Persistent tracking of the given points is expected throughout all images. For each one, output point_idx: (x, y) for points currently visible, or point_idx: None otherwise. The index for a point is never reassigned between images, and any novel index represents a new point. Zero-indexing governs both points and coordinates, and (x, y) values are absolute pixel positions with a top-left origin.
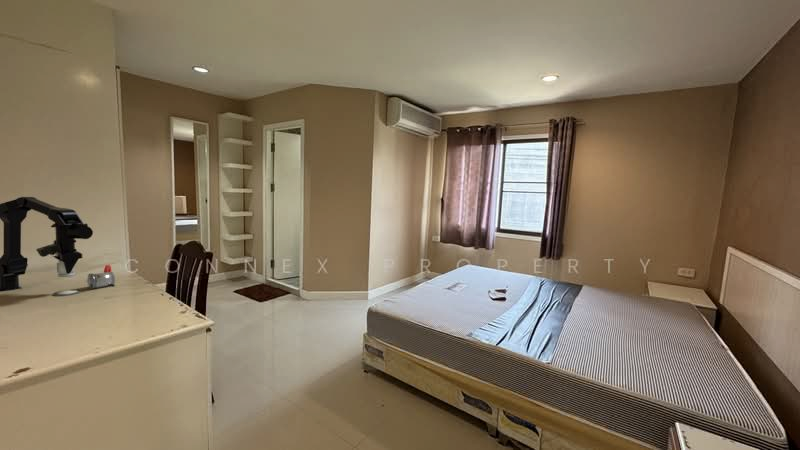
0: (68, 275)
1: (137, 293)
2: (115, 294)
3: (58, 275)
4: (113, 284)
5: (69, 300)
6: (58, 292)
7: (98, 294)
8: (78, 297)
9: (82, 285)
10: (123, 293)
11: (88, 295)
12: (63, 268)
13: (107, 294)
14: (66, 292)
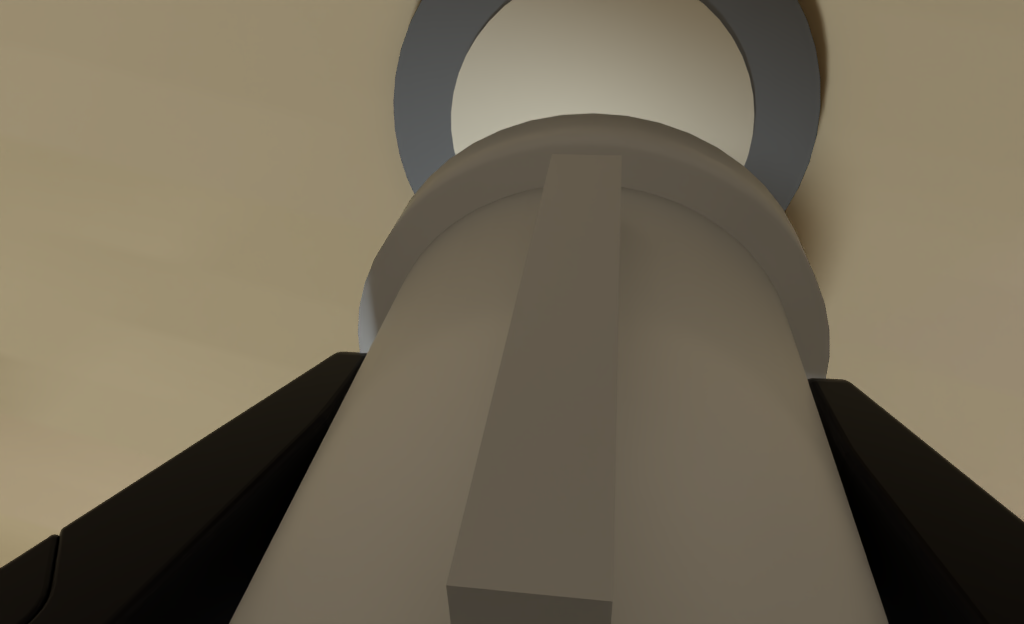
0: (370, 331)
1: (4, 564)
2: (71, 454)
3: (545, 134)
4: None
5: (11, 8)
6: (690, 5)
7: (183, 357)
8: (149, 152)
9: (989, 412)
10: (76, 507)
11: (199, 270)
12: (337, 433)
13: (120, 412)
14: (566, 107)
